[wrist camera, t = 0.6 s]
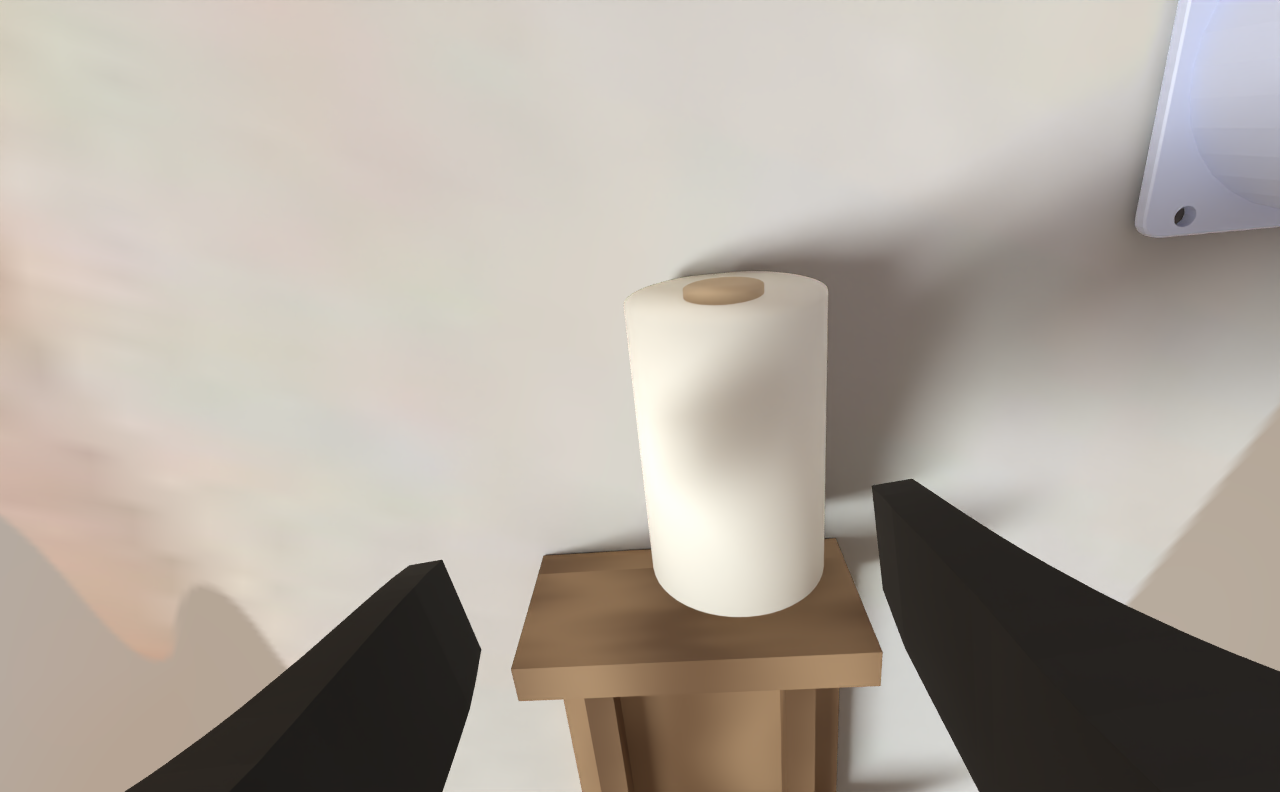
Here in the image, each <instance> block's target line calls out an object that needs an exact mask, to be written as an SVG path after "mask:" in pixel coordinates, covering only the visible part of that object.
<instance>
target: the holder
mask: <svg viewBox="0 0 1280 792" xmlns="http://www.w3.org/2000/svg"><path fill="white" fill-rule="evenodd" d="M882 654H883V652H882V650H881V647H880V645H879V642H878V640H877V638H876V635H875V633H874V630H873V628H872V625H871V623H870V621H869V618H868V616H867V613H866V611H865V608H864V606H863V604H862V601H861V599H860V596H859V594H858V591H857V589H856V587H855V584H854V582H853V579H852V577H851V574H850V572H849V570H848V567H847V565H846V562H845V560H844V557H843V555H842V553H841V550H840V548H839V545H838V543H837V540H836V538H832V539H824V568H823V574H822V576H821V579H820V581H819V583H818V584H817V586H816V587H815V588H814V589H813V591H812V592H811V593H810V594H809V595H807V596H806V597H805V598H804V599H802V600H801V601H799V602H798V603H796V604H794V605H792V606H790V607H788V608H785V609H783V610H780V611H777V612H774V613H770V614H765V615H760V616H751V617H728V616H719V615H714V614H709V613H705V612H702V611H698V610H696V609H693V608H691V607H688V606H686V605H684V604H683V603H681V602H679V601H677V600H676V599H675V598H673V597H672V596H671V595H669V594H668V593H667V592H666V591H665V590H664V589H663V587H662V586H661V585H660V583H659V582H658V580H657V578H656V576H655V572H654V568H653V560H652V551H651V549H647V550H630V551H613V552H597V553H580V554H563V555H546V556H543V560H542V563H541V567H540V570H539V574H538V577H537V581H536V584H535V588H534V591H533V595H532V598H531V602H530V605H529V609H528V612H527V616H526V619H525V623H524V626H523V630H522V633H521V636H520V640H519V643H518V647H517V650H516V654H515V657H514V661H513V664H512V668H511V671H512V675H513V679H514V684H515V688H516V692H517V696H518V700H519V701H533V700H557V699H564V704H565V709H566V714H567V719H568V724H569V729H570V734H571V738H572V743H573V748H574V753H575V758H576V763H577V768H578V773H579V778H580V783H581V788H582V792H836V781H837V748H838V715H839V688H842V687H866V686H880V685H881V669H882Z"/></svg>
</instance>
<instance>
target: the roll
mask: <svg viewBox="0 0 1280 792" xmlns="http://www.w3.org/2000/svg"><path fill="white" fill-rule="evenodd" d="M624 314H625V323H626V331H627V340H628V349H629V358H630V366H631V375H632V384H633V393H634V402H635V410H636V419H637V428H638V437H639V446H640V454H641V463H642V472H643V481H644V489H645V498H646V507H647V516H648V525H649V533H650V542H651V551H652V560H653V568H654V572H655V576H656V578H657V580H658V582H659V583H660V585H661V586H662V587H663V589H664V590H665V591H666V592H667V593H668V594H669V595H671V596H672V597H673V598H675V599H676V600H677V601H679V602H681V603H683V604H684V605H686V606H688V607H691V608H693V609H696V610H698V611H702V612H705V613H709V614H714V615H719V616H728V617H751V616H760V615H765V614H770V613H774V612H777V611H780V610H783V609H785V608H788V607H790V606H792V605H794V604H796V603H798V602H799V601H801V600H802V599H804V598H805V597H806V596H807V595H809V594H810V593H811V592H812V591H813V589H814V588H815V587H816V586H817V584H818V583H819V581H820V579H821V576H822V574H823V568H824V524H825V461H826V397H827V333H828V288H827V287H826V285H825V284H823V283H822V282H820V281H818V280H816V279H813V278H810V277H806V276H802V275H797V274H791V273H782V272H768V271H738V272H727V273H716V274H705V275H694V276H688V277H682V278H677V279H672V280H668V281H664V282H660V283H657V284H653V285H650V286H648V287H645V288H643V289H640V290H638V291H636V292H634V293H633V294H631V295H630V296H628V297H627V298H626V299H625V301H624Z"/></svg>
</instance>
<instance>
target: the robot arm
mask: <svg viewBox="0 0 1280 792" xmlns="http://www.w3.org/2000/svg"><path fill="white" fill-rule="evenodd" d="M1183 207H1184V210H1185V214H1184V216H1183V218H1182V219H1181V220H1180V221H1179V222H1178V223H1176V224H1175V223H1174V217H1175V215H1176V213H1177V212H1178V211H1179V210H1180V209H1181V208H1183ZM1135 227H1136V229H1137V231H1138V232H1139V233H1141V234H1142V235H1145V236H1149V237H1155V238H1163V237H1174V236H1185V235H1196V234H1207V233H1218V232H1229V231H1240V230H1251V229H1262V228H1273V227H1280V0H1179V1H1178V6H1177V11H1176V16H1175V21H1174V26H1173V31H1172V36H1171V41H1170V46H1169V51H1168V56H1167V61H1166V66H1165V71H1164V76H1163V81H1162V86H1161V91H1160V96H1159V101H1158V106H1157V111H1156V116H1155V121H1154V126H1153V131H1152V136H1151V141H1150V146H1149V151H1148V156H1147V161H1146V166H1145V171H1144V176H1143V181H1142V186H1141V191H1140V196H1139V201H1138V206H1137V211H1136V216H1135ZM872 492H873V501H874V511H875V520H876V529H877V539H878V548H879V557H880V566H881V576H882V585H883V590H884V593H885V596H886V599H887V601H888V604H889V607H890V609H891V612H892V615H893V618H894V620H895V623H896V626H897V628H898V631H899V633H900V636H901V639H902V641H903V644H904V646H905V649H906V651H907V653H908V655H909V657H910V659H911V661H912V663H913V665H914V667H915V668H916V670H917V672H918V674H919V676H920V678H921V680H922V682H923V684H924V686H925V688H926V690H927V692H928V694H929V696H930V698H931V700H932V702H933V704H934V705H935V707H936V709H937V711H938V713H939V715H940V717H941V719H942V721H943V723H944V725H945V727H946V729H947V730H948V732H949V734H950V736H951V738H952V740H953V742H954V744H955V746H956V748H957V750H958V752H959V754H960V756H961V757H962V759H963V761H964V763H965V765H966V767H967V769H968V771H969V773H970V775H971V777H972V779H973V781H974V783H975V784H976V786H977V788H978V790H979V792H1280V671H1277V670H1274V669H1272V668H1269V667H1267V666H1264V665H1262V664H1259V663H1257V662H1254V661H1251V660H1249V659H1247V658H1244V657H1242V656H1239V655H1236V654H1234V653H1231V652H1229V651H1227V650H1224V649H1222V648H1219V647H1217V646H1215V645H1212V644H1210V643H1208V642H1205V641H1203V640H1200V639H1198V638H1196V637H1194V636H1191V635H1189V634H1187V633H1184V632H1182V631H1180V630H1178V629H1176V628H1174V627H1171V626H1169V625H1167V624H1165V623H1163V622H1161V621H1158V620H1156V619H1154V618H1152V617H1150V616H1147V615H1145V614H1143V613H1141V612H1139V611H1137V610H1135V609H1133V608H1130V607H1128V606H1126V605H1124V604H1122V603H1120V602H1118V601H1116V600H1114V599H1112V598H1110V597H1108V596H1106V595H1104V594H1102V593H1100V592H1098V591H1096V590H1094V589H1092V588H1090V587H1089V586H1087V585H1085V584H1083V583H1081V582H1079V581H1078V580H1076V579H1074V578H1072V577H1070V576H1068V575H1066V574H1065V573H1063V572H1061V571H1059V570H1057V569H1055V568H1054V567H1052V566H1050V565H1048V564H1046V563H1045V562H1043V561H1041V560H1039V559H1038V558H1036V557H1034V556H1032V555H1031V554H1029V553H1027V552H1026V551H1024V550H1022V549H1020V548H1019V547H1017V546H1015V545H1014V544H1012V543H1010V542H1009V541H1007V540H1006V539H1004V538H1002V537H1001V536H999V535H997V534H996V533H994V532H993V531H991V530H989V529H988V528H986V527H985V526H983V525H982V524H980V523H978V522H977V521H975V520H974V519H972V518H971V517H969V516H968V515H966V514H965V513H963V512H962V511H960V510H958V509H957V508H955V507H954V506H952V505H951V504H949V503H948V502H946V501H945V500H943V499H942V498H940V497H939V496H937V495H936V494H934V493H933V492H931V491H930V490H928V489H927V488H925V487H924V486H922V485H921V484H919V483H918V482H916V481H915V480H913V479H908V480H902V481H896V482H891V483H885V484H879V485H873V486H872ZM480 654H481V648H480V646H479V643H478V641H477V639H476V636H475V634H474V632H473V629H472V627H471V625H470V623H469V620H468V618H467V616H466V613H465V611H464V609H463V606H462V604H461V602H460V600H459V597H458V595H457V593H456V590H455V588H454V586H453V583H452V581H451V579H450V577H449V574H448V572H447V570H446V567H445V565H444V563H443V560H438V561H432V562H426V563H421V564H415V565H409V566H408V567H407V568H405V569H404V570H403V571H401V572H400V573H398V574H397V575H396V576H395V577H393V578H392V579H391V580H390V581H388V582H387V583H386V584H385V585H384V586H382V587H381V588H380V589H379V590H378V591H377V592H375V593H374V594H373V595H372V596H371V597H370V598H369V599H367V600H366V601H365V602H364V603H363V604H362V605H361V606H359V607H358V608H357V609H356V610H355V611H354V612H353V613H351V614H350V615H349V616H348V617H347V618H346V619H345V620H344V621H342V622H341V623H340V624H339V625H338V626H337V627H336V628H334V629H333V630H332V631H331V632H330V633H329V634H328V635H326V636H325V637H324V638H323V639H322V640H321V641H320V642H319V643H317V644H316V645H315V646H314V647H313V648H312V649H311V650H309V651H308V652H307V653H306V654H305V655H304V656H303V657H301V658H300V659H299V660H298V661H297V662H295V663H294V664H293V665H292V666H290V667H289V668H288V669H287V670H286V671H284V672H283V673H282V674H281V675H280V676H278V677H277V678H276V679H275V680H274V681H272V682H271V683H270V684H269V685H268V686H266V687H265V688H264V689H263V690H262V691H260V692H259V693H258V694H257V695H256V696H254V697H253V698H252V699H251V700H250V701H248V702H247V703H246V704H245V705H244V706H242V707H241V708H240V709H238V710H237V711H236V712H235V713H233V714H232V715H231V716H230V717H228V718H227V719H226V720H224V721H223V722H222V723H220V724H219V725H218V726H217V727H215V728H214V729H213V730H212V731H210V732H209V733H208V734H206V735H205V736H204V737H202V738H201V739H199V740H198V741H197V742H195V743H194V744H192V745H191V746H190V747H188V748H187V749H186V750H184V751H183V752H181V753H180V754H179V755H177V756H176V757H175V758H173V759H172V760H170V761H169V762H168V763H166V764H165V765H163V766H162V767H161V768H159V769H158V770H156V771H155V772H154V773H152V774H151V775H149V776H148V777H146V778H145V779H143V780H142V781H140V782H139V783H137V784H136V785H134V786H133V787H131V788H130V789H128V790H126V791H125V792H442V791H443V788H444V785H445V782H446V780H447V777H448V774H449V771H450V768H451V765H452V762H453V759H454V756H455V753H456V750H457V747H458V744H459V741H460V738H461V735H462V732H463V728H464V725H465V722H466V719H467V716H468V713H469V710H470V705H471V701H472V696H473V691H474V687H475V682H476V676H477V671H478V665H479V659H480Z"/></svg>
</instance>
